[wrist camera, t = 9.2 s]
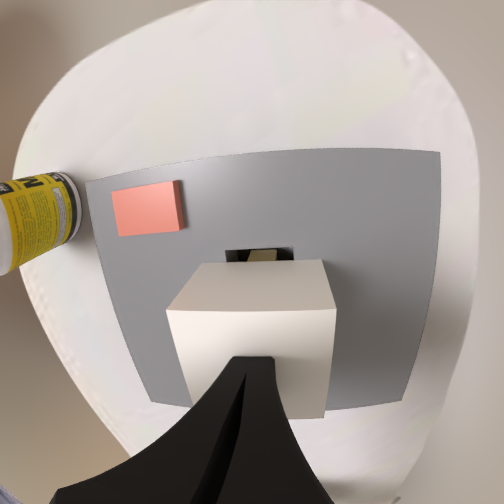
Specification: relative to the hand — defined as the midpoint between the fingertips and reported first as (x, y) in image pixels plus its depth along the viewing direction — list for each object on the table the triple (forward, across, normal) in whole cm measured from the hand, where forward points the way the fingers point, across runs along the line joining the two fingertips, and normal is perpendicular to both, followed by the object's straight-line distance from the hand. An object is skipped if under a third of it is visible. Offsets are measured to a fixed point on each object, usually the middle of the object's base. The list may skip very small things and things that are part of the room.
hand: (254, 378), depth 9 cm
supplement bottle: (+7, +13, -6) cm, 16 cm away
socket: (+6, 0, 0) cm, 6 cm away
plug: (+6, 0, 0) cm, 6 cm away
